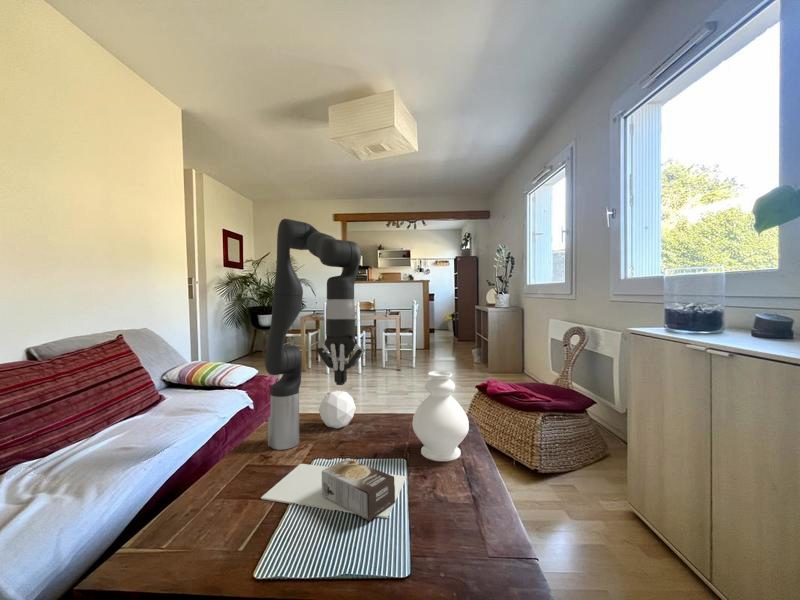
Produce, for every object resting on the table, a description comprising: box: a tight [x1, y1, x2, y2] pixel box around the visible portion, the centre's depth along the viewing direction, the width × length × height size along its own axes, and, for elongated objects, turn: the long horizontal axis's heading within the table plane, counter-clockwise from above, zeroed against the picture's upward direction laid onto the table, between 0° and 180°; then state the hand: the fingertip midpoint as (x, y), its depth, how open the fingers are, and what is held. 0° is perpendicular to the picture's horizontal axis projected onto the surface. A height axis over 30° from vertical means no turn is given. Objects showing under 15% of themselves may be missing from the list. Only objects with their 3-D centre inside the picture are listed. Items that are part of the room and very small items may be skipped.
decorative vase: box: [412, 370, 470, 462], centre depth 107 cm, size 18×18×25 cm
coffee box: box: [322, 457, 396, 522], centre depth 80 cm, size 9×6×16 cm
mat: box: [260, 463, 407, 519], centre depth 86 cm, size 32×18×1 cm, turn 76°
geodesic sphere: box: [318, 389, 357, 429], centre depth 131 cm, size 15×14×14 cm
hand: (340, 384), depth 86 cm, fingers closed
